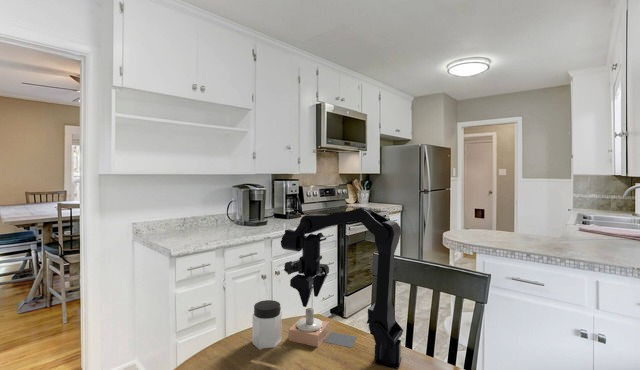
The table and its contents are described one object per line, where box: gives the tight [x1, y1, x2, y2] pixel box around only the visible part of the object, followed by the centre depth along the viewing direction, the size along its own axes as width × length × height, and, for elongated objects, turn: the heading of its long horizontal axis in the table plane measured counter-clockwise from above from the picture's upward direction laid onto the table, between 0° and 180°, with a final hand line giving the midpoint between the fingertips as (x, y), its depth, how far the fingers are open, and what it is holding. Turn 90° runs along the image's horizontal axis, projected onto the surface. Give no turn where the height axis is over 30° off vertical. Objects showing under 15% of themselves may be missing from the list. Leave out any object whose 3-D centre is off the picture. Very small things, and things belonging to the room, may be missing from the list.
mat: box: [323, 331, 358, 348], centre depth 101 cm, size 9×7×1 cm
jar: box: [251, 299, 283, 351], centre depth 99 cm, size 9×8×12 cm
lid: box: [296, 307, 323, 332], centre depth 103 cm, size 8×8×5 cm
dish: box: [288, 316, 330, 348], centre depth 103 cm, size 10×10×4 cm
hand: (310, 301), depth 103 cm, fingers open, 9 cm apart
